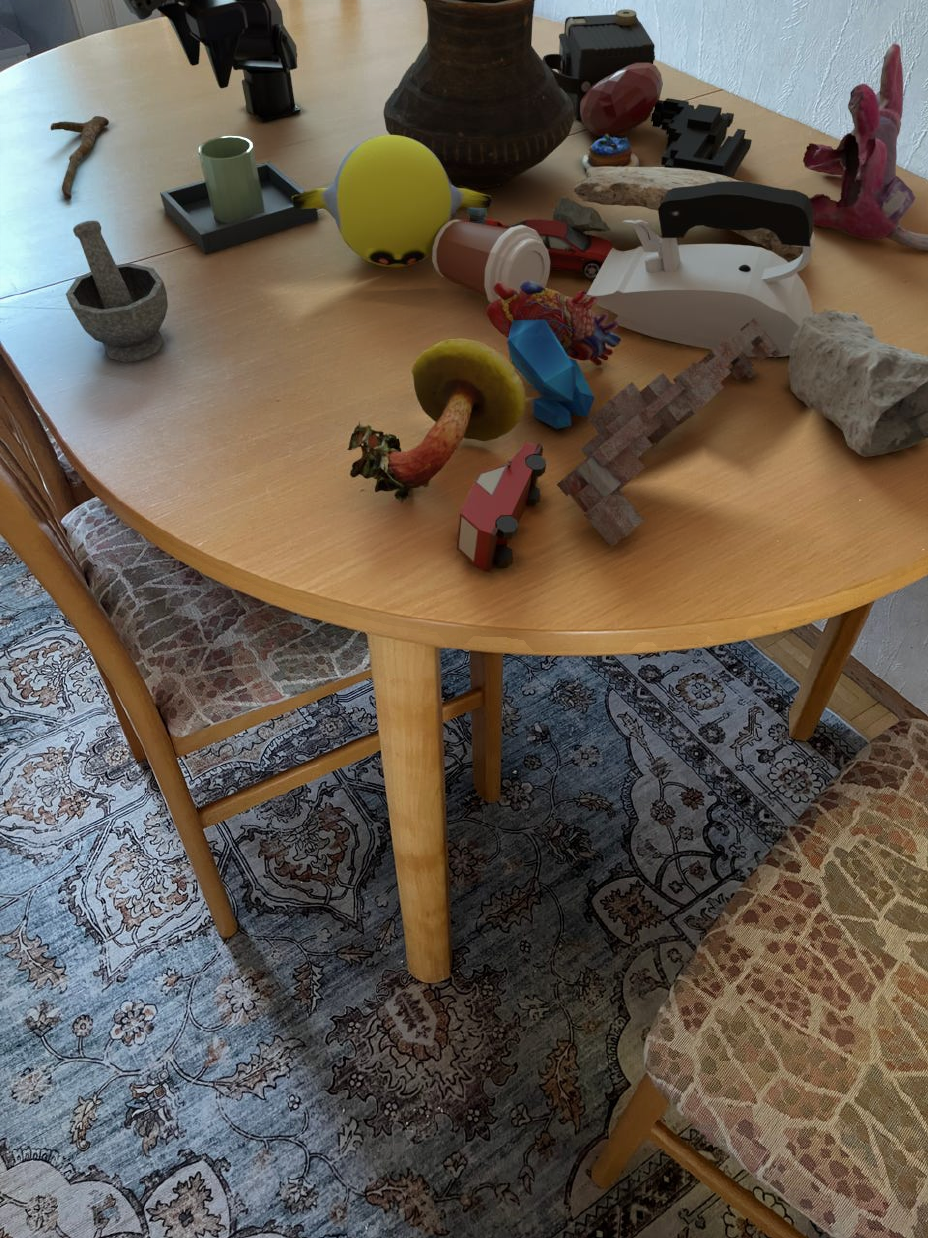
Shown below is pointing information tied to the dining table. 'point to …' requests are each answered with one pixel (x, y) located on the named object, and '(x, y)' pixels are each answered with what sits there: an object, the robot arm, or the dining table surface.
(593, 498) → the sculpture
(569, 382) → the crystal
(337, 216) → the toy
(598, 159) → the dessert
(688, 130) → the tool
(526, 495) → the toy truck
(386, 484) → the mushroom
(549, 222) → the toy car
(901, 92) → the toy
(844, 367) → the decorative stone
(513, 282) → the coffee cup
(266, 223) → the tray
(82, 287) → the mortar and pestle
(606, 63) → the camera
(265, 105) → the robot arm
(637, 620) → the dining table surface
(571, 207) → the stone
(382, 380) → the dining table surface
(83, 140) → the branch
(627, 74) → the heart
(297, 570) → the dining table surface
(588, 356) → the anatomical model
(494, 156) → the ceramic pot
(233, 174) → the cup
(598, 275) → the iron
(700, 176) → the stone fragment
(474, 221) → the button
